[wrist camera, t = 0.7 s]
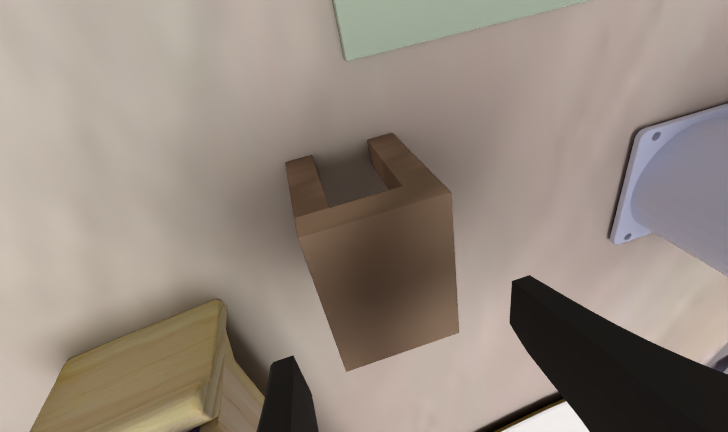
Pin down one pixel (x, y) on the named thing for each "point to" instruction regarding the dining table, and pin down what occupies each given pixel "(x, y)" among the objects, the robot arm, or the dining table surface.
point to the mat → (423, 20)
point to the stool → (380, 256)
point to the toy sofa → (157, 382)
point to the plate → (548, 420)
